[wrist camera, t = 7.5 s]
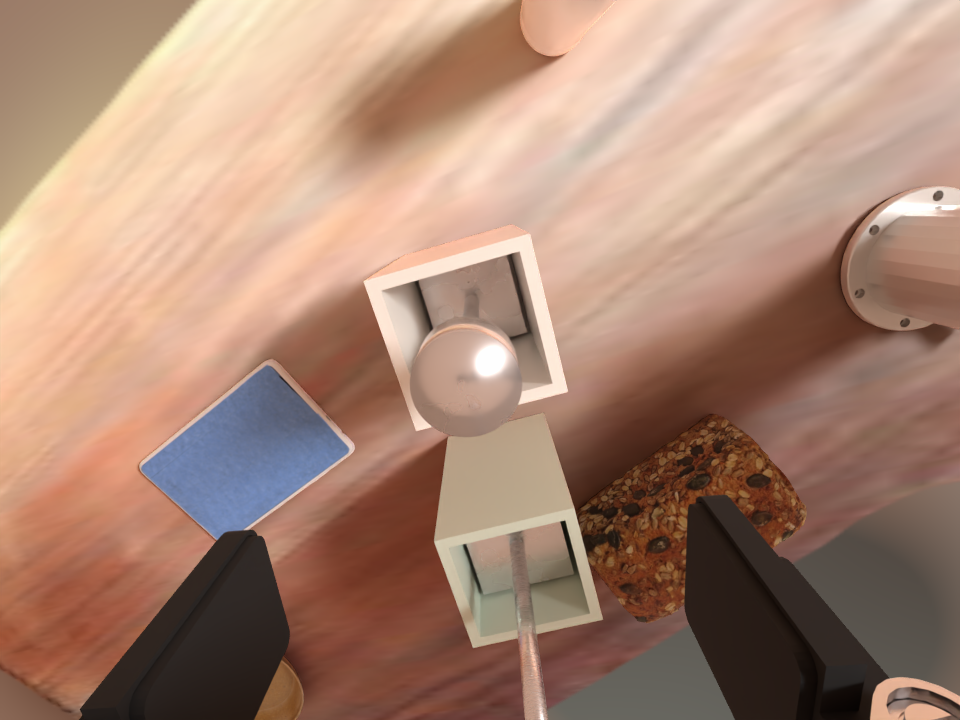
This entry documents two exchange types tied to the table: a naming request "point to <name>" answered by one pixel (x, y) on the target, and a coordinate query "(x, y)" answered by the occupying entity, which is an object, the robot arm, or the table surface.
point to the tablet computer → (247, 452)
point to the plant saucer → (282, 695)
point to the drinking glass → (559, 23)
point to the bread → (680, 512)
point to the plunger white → (469, 350)
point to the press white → (411, 323)
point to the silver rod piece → (524, 591)
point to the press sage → (509, 527)
